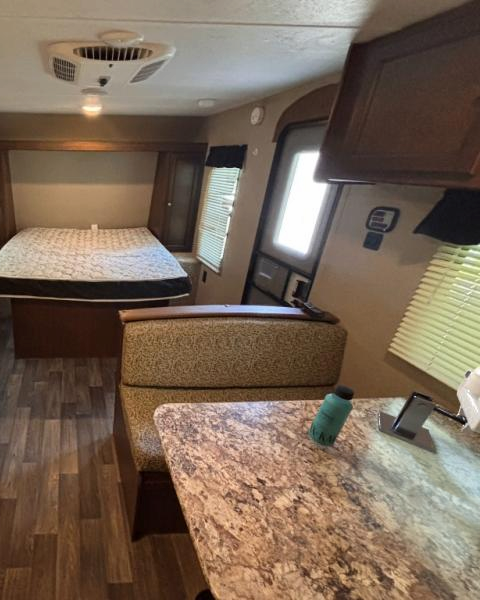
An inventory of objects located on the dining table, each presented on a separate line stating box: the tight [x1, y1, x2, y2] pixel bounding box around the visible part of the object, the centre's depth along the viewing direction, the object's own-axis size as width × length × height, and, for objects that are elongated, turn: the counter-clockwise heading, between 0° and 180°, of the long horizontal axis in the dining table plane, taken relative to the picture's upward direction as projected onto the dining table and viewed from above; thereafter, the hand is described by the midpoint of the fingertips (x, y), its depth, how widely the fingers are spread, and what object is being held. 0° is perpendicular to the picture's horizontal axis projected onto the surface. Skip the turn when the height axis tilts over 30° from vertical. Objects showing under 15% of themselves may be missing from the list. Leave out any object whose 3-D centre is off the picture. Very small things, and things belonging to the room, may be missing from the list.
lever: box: [416, 395, 468, 426], centre depth 92 cm, size 12×5×2 cm, turn 50°
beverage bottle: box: [308, 384, 355, 447], centre depth 90 cm, size 6×7×20 cm
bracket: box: [377, 389, 437, 453], centre depth 96 cm, size 12×10×14 cm
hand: (462, 426), depth 90 cm, fingers closed on lever, 5 cm apart
